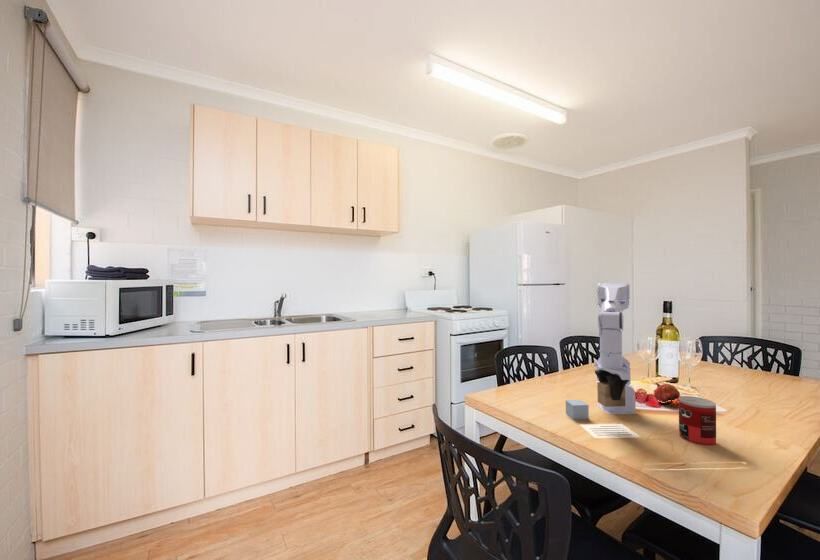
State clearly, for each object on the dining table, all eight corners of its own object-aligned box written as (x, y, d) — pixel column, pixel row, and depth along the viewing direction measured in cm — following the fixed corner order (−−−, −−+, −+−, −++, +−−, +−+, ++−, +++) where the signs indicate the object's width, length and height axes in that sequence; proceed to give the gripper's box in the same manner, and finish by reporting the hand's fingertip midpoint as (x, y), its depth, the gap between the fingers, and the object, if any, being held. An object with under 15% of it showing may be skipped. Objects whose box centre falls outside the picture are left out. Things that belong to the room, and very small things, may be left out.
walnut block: (617, 401, 107) (616, 381, 107) (625, 406, 103) (625, 385, 103) (597, 401, 107) (597, 382, 107) (605, 406, 103) (604, 386, 103)
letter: (621, 424, 107) (621, 423, 107) (641, 437, 98) (641, 437, 98) (579, 425, 107) (579, 424, 107) (595, 438, 98) (595, 437, 98)
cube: (580, 414, 116) (580, 399, 116) (588, 420, 111) (588, 405, 111) (565, 414, 116) (565, 399, 116) (573, 421, 111) (572, 405, 111)
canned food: (679, 431, 102) (679, 394, 102) (715, 439, 97) (715, 399, 97) (678, 441, 96) (677, 401, 96) (716, 450, 91) (716, 407, 91)
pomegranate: (683, 411, 122) (664, 387, 130) (692, 400, 118) (671, 375, 126) (662, 414, 122) (644, 390, 130) (671, 403, 118) (651, 378, 125)
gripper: (585, 347, 112) (585, 389, 112) (612, 357, 97) (612, 406, 98) (606, 346, 112) (607, 389, 112) (637, 357, 98) (637, 405, 98)
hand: (611, 397), depth 105 cm, fingers closed on walnut block, 4 cm apart
